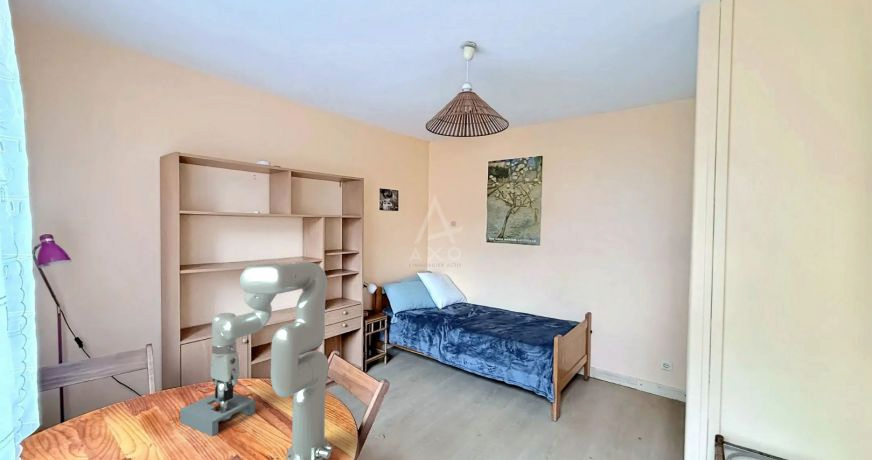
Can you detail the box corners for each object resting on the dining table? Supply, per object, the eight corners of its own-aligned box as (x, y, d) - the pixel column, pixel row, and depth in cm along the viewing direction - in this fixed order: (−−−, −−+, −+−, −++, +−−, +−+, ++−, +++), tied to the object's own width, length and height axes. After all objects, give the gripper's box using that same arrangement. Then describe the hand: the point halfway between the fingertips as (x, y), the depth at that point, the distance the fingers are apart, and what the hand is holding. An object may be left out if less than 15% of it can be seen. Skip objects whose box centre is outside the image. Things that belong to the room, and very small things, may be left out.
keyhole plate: (255, 413, 130) (255, 399, 130) (212, 436, 115) (212, 421, 115) (224, 402, 137) (224, 389, 137) (180, 422, 123) (180, 408, 123)
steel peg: (234, 416, 126) (234, 380, 126) (221, 422, 122) (221, 386, 122) (226, 412, 128) (226, 378, 128) (213, 419, 124) (213, 383, 124)
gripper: (249, 348, 125) (249, 398, 125) (219, 341, 132) (219, 388, 132) (229, 355, 118) (229, 408, 118) (199, 347, 125) (199, 397, 125)
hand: (224, 397), depth 125 cm, fingers closed on steel peg, 4 cm apart
